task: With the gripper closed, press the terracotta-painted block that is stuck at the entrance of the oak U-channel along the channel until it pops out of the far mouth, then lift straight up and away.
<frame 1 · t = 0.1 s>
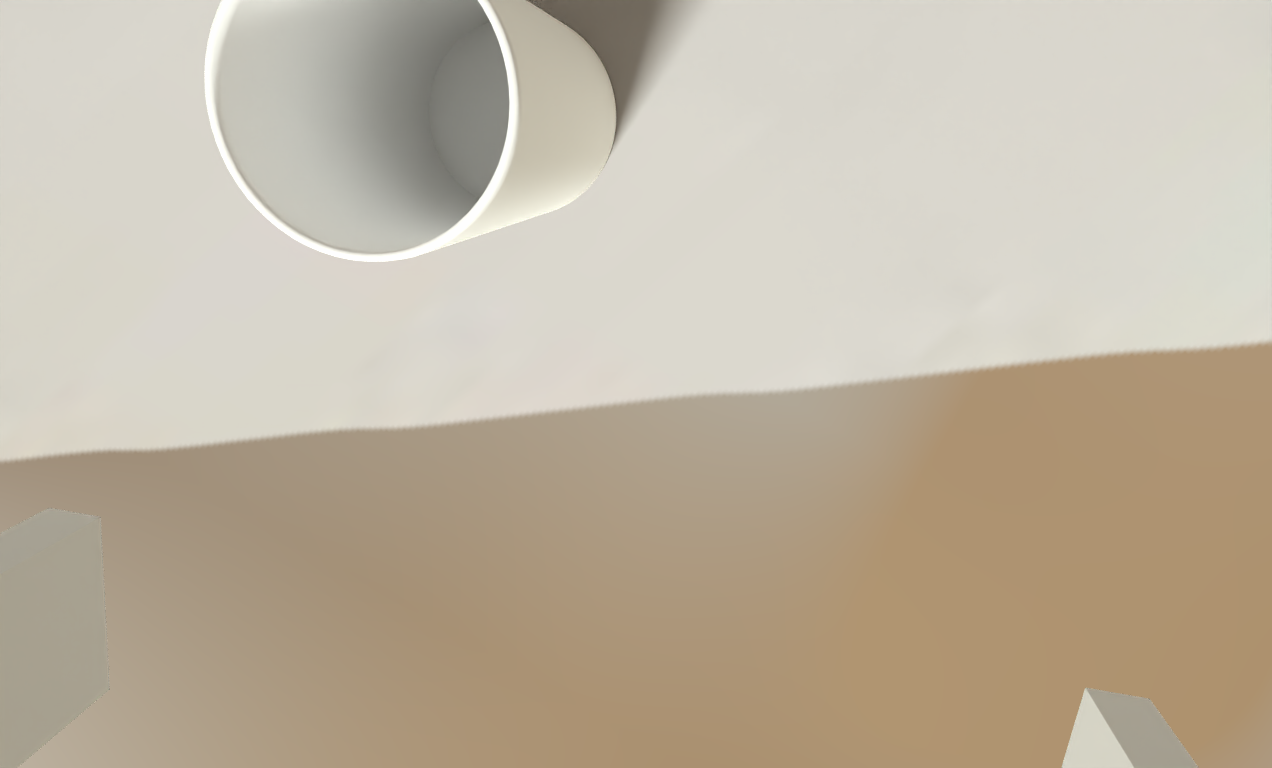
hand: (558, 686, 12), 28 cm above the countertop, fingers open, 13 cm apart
cup: (521, 116, 38), on the countertop
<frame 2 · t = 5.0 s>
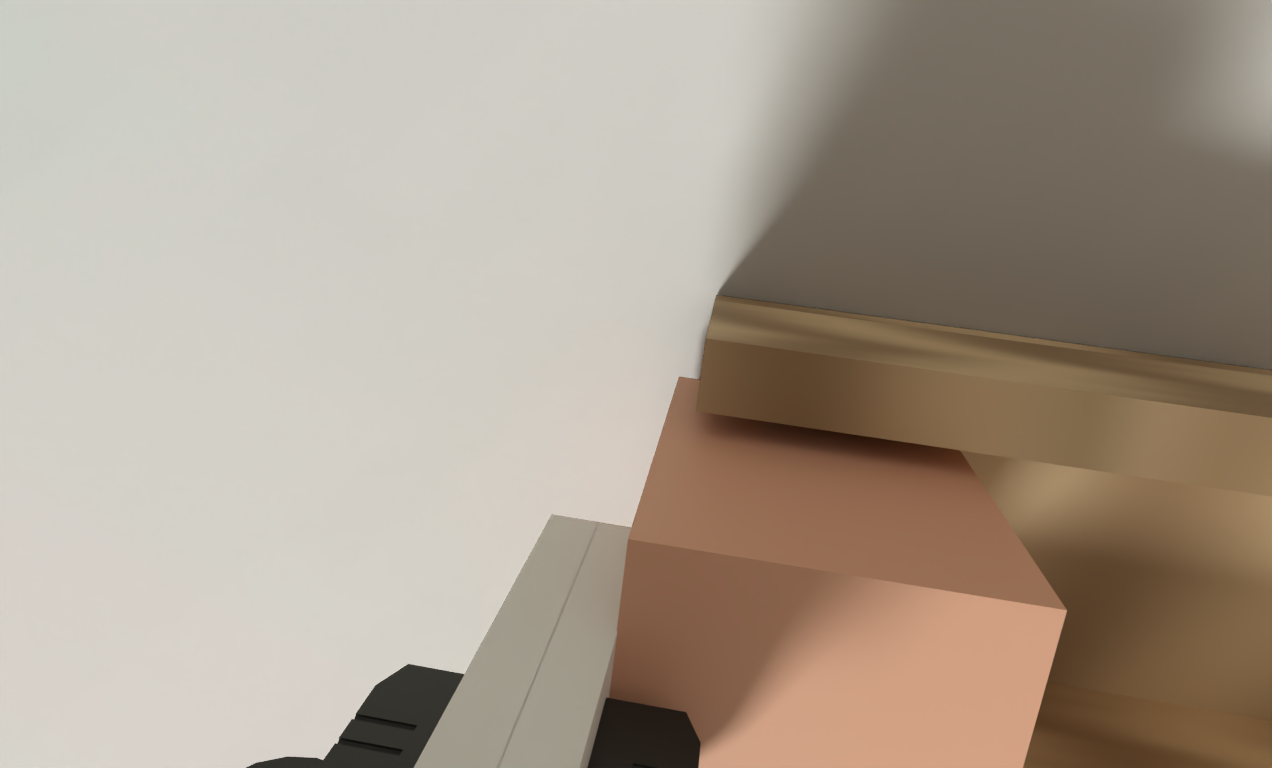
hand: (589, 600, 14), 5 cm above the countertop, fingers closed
chute: (1076, 544, 18), on the countertop
block: (792, 603, 14), point 4 cm above the countertop, slide at 0.0 cm, touching gripper
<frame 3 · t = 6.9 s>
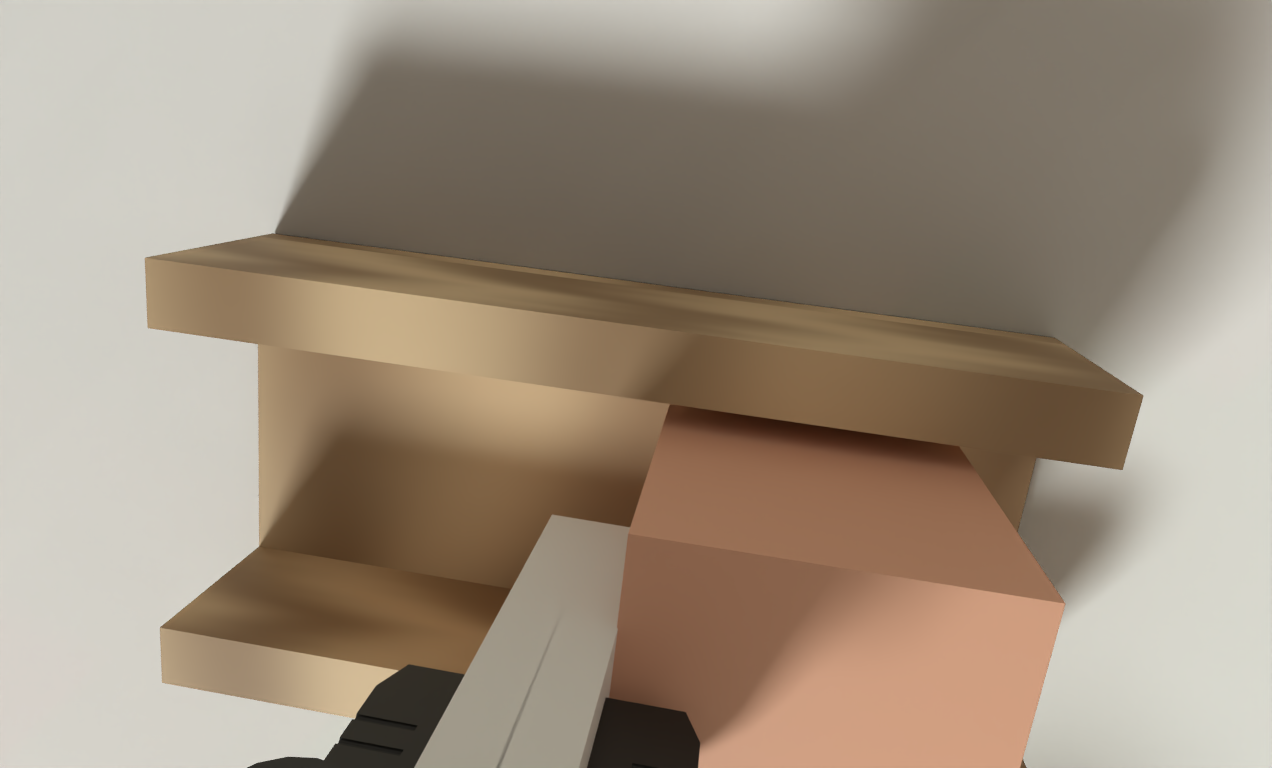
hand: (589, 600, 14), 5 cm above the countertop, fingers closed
chute: (625, 471, 19), on the countertop
block: (793, 599, 14), point 4 cm above the countertop, slide at 9.4 cm, touching gripper
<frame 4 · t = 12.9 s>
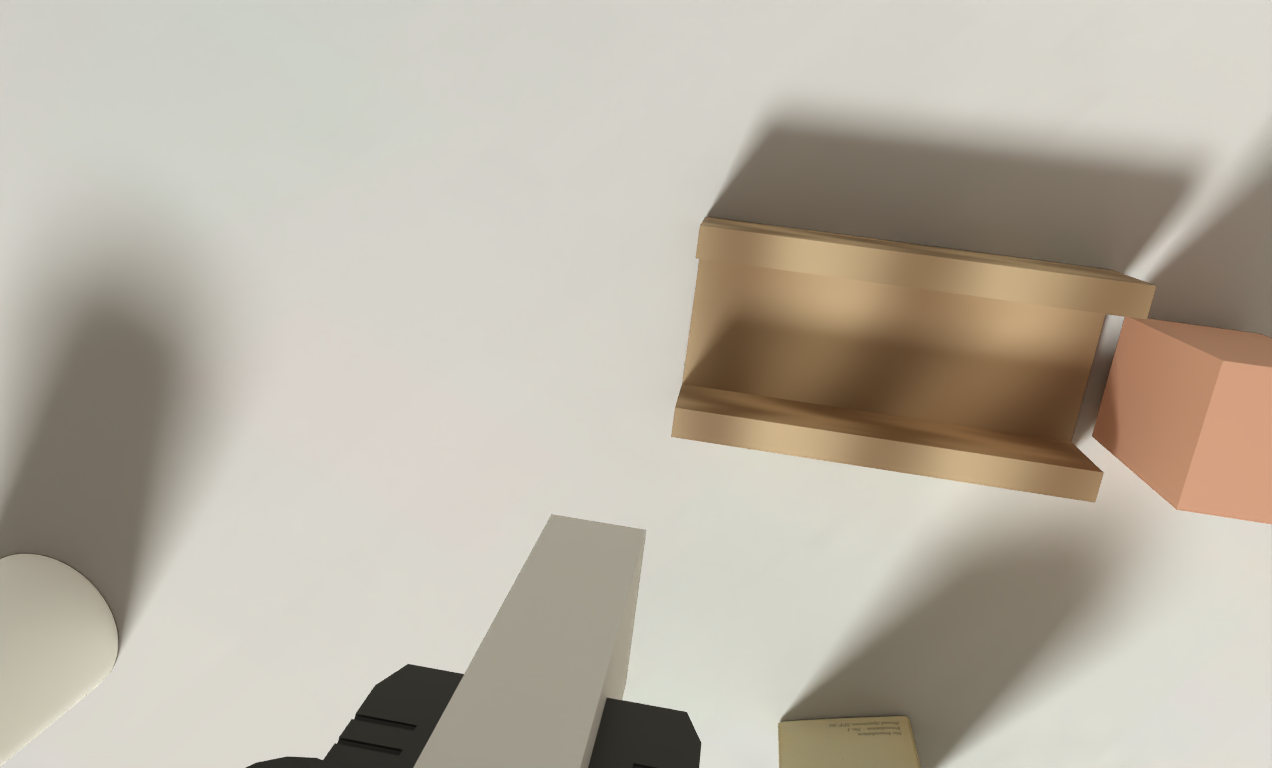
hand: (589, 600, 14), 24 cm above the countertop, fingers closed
chute: (884, 341, 37), on the countertop
cup: (47, 623, 46), on the countertop
block: (1221, 414, 31), point 4 cm above the countertop, slide at 17.2 cm
skincare box: (844, 753, 42), on the countertop
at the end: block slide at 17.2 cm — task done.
